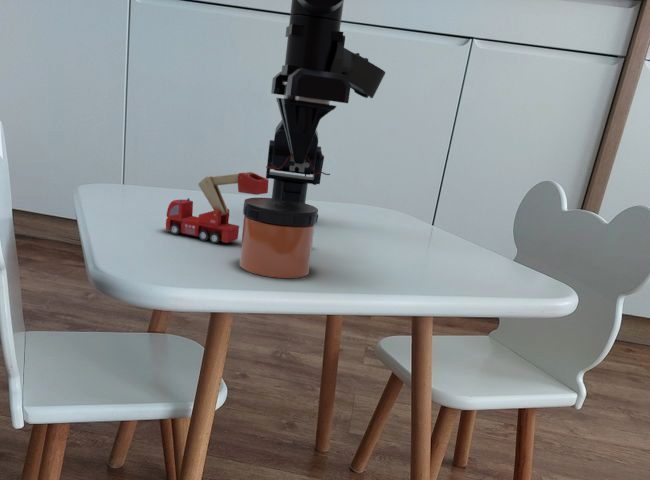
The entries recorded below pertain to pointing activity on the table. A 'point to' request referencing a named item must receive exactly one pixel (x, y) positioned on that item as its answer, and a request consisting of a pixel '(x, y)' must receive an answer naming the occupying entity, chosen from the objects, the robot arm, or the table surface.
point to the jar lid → (280, 211)
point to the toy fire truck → (217, 220)
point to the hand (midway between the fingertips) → (298, 163)
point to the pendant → (301, 166)
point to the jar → (276, 249)
